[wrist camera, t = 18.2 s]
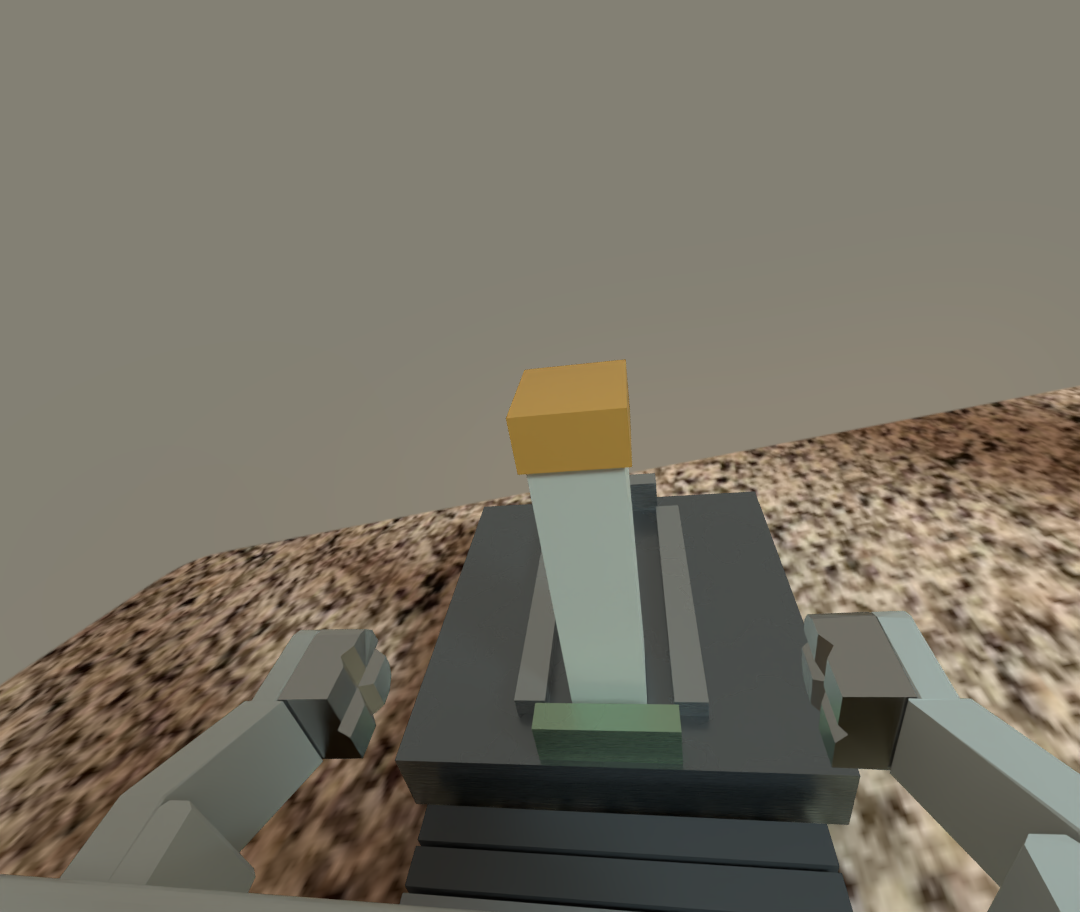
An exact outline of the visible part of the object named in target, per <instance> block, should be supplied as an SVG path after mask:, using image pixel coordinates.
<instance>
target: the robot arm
mask: <svg viewBox="0 0 1080 912" xmlns="http://www.w3.org/2000/svg"><path fill="white" fill-rule="evenodd" d="M804 632H805V635H806V638H807V641H808V643H806V644H805V645H804V646H803V647H802V660H801V661H802V671H803V678H804V682H805V687H806V690H807V694H808V697H809V700H810V703H811V704H812V705H813V706H814V707H815V708H816V709H818V710H819V711H820V720H819V731H820V734H821V737H822V740H823V743H824V746H825V749H826V752H827V755H828V758H829V761H830V764H831V767H833V768H855V769H877V770H890V774H891V775H892V776H893V777H894V778H895V779H896V780H897V781H898V782H899V783H900V784H901V785H902V786H903V787H904V788H905V789H906V790H907V791H908V792H909V793H910V794H911V795H912V796H913V797H914V798H915V799H916V800H917V802H918V803H919V804H920V805H921V806H922V807H923V808H924V809H925V810H926V811H927V812H928V813H929V814H930V815H931V816H932V817H933V818H934V819H935V820H936V821H937V822H938V823H939V824H940V825H941V826H942V827H943V828H944V829H945V830H946V831H947V832H948V834H949V835H950V836H951V837H952V838H953V839H954V840H955V841H956V842H957V843H958V844H959V845H960V846H961V847H962V848H963V849H964V850H965V851H966V852H967V853H968V854H969V855H970V856H971V857H972V858H973V859H974V860H975V861H976V862H977V863H978V864H979V866H980V867H981V868H982V869H983V870H984V871H985V872H986V873H987V874H988V875H989V876H990V877H991V878H992V879H993V880H994V881H995V882H996V883H997V884H998V885H999V886H1000V889H999V891H998V893H997V895H996V896H995V898H994V900H993V902H992V904H991V906H990V908H989V910H988V912H1080V774H1079V773H1077V772H1076V771H1074V770H1073V769H1072V768H1070V767H1069V766H1067V765H1066V764H1064V763H1063V762H1061V761H1060V760H1059V759H1057V758H1056V757H1054V756H1053V755H1051V754H1050V753H1048V752H1047V751H1046V750H1044V749H1043V748H1041V747H1040V746H1038V745H1037V744H1036V743H1034V742H1033V741H1031V740H1030V739H1028V738H1027V737H1025V736H1024V735H1023V734H1021V733H1020V732H1018V731H1017V730H1015V729H1014V728H1012V727H1011V726H1010V725H1008V724H1007V723H1005V722H1004V721H1002V720H1001V719H1000V718H998V717H997V716H995V715H994V714H992V713H991V712H989V711H988V710H987V709H985V708H984V707H982V706H981V705H979V704H978V703H977V702H975V701H974V700H972V699H966V698H959V696H958V694H957V693H956V691H955V689H954V688H953V686H952V684H951V683H950V681H949V679H948V678H947V676H946V674H945V672H944V671H943V669H942V667H941V666H940V664H939V662H938V661H937V659H936V657H935V656H934V654H933V652H932V651H931V649H930V647H929V646H928V644H927V642H926V640H925V639H924V637H923V635H922V634H921V632H920V630H919V629H918V627H917V625H916V624H915V622H914V620H913V619H912V617H911V616H910V615H909V614H908V613H907V612H905V611H888V612H871V613H869V612H853V613H830V614H807V616H806V618H805V622H804ZM377 643H378V640H377V638H376V636H375V634H374V632H373V631H372V630H366V629H335V630H300V631H299V632H297V633H296V634H295V635H293V636H292V638H291V639H290V641H289V643H288V644H287V646H286V647H285V649H284V650H283V652H282V654H281V655H280V657H279V658H278V660H277V662H276V663H275V665H274V666H273V668H272V669H271V671H270V673H269V674H268V676H267V677H266V679H265V681H264V682H263V684H262V685H261V687H260V688H259V690H258V692H257V693H256V695H255V696H254V698H253V699H252V701H244V702H243V703H242V704H240V705H239V706H238V707H236V708H235V709H234V710H232V711H231V712H230V713H228V714H227V715H226V716H225V717H223V718H222V719H221V720H219V721H218V722H217V723H215V724H214V725H213V726H211V727H210V728H209V729H207V730H206V731H205V732H203V733H202V734H201V735H199V736H198V737H197V738H196V739H194V740H193V741H192V742H190V743H189V744H188V745H186V746H185V747H184V748H182V749H181V750H180V751H178V752H177V753H176V754H174V755H173V756H172V757H170V758H169V759H168V760H167V761H165V762H164V763H163V764H161V765H160V766H159V767H157V768H156V769H155V770H153V771H152V772H151V773H149V774H148V775H147V776H145V777H144V778H143V779H142V780H140V781H139V782H138V783H136V784H135V785H134V786H132V787H131V788H130V789H128V790H127V791H126V792H124V793H123V794H122V795H120V797H119V798H118V799H117V801H116V802H115V803H114V805H113V806H112V808H111V809H110V810H109V812H108V813H107V814H106V816H105V817H104V818H103V820H102V821H101V823H100V824H99V825H98V827H97V828H96V829H95V831H94V832H93V833H92V835H91V836H90V837H89V839H88V840H87V842H86V843H85V844H84V846H83V847H82V848H81V850H80V851H79V852H78V854H77V855H76V856H75V858H74V859H73V861H72V862H71V863H70V865H69V866H68V867H67V869H66V870H65V871H64V873H63V874H62V875H61V877H60V878H46V877H33V876H20V875H6V874H0V912H493V911H480V910H467V909H453V908H440V907H427V906H414V905H401V904H388V903H375V902H362V901H348V900H335V899H322V898H309V897H296V896H283V895H270V894H256V893H248V892H249V889H250V887H251V885H252V883H253V881H254V879H255V872H254V868H253V867H252V866H251V865H250V864H249V863H248V862H247V861H246V860H245V859H244V858H243V856H242V855H241V854H240V853H239V852H240V851H241V850H242V849H243V848H244V847H245V846H246V845H247V844H248V842H249V841H250V840H251V839H252V838H253V837H254V836H255V835H256V834H257V833H258V832H259V830H260V829H261V828H262V827H263V826H264V825H265V824H266V823H267V822H268V821H269V820H270V818H271V817H272V816H273V815H274V814H275V813H276V812H277V811H278V810H279V809H280V808H281V806H282V805H283V804H284V803H285V802H286V801H287V800H288V799H289V798H290V797H291V796H292V795H293V793H294V792H295V791H296V790H297V789H298V788H299V787H300V786H301V785H302V784H303V783H304V781H305V780H306V779H307V778H308V777H309V776H310V775H311V774H312V773H313V772H314V771H315V769H316V768H317V767H318V766H319V765H320V764H321V763H322V762H323V760H322V759H351V758H363V756H364V754H365V751H366V749H367V746H368V744H369V742H370V739H371V737H372V734H373V732H374V729H375V727H376V724H375V720H374V717H373V714H374V713H375V712H377V711H378V710H379V709H380V708H381V707H382V706H383V705H384V704H385V701H386V699H387V696H388V693H389V691H390V682H391V671H390V665H389V662H388V660H387V658H386V656H385V655H383V654H382V653H380V652H379V651H378V650H376V649H375V648H376V645H377Z"/></svg>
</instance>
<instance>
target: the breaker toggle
mask: <svg viewBox="0 0 1080 912" xmlns="http://www.w3.org/2000/svg"><path fill="white" fill-rule="evenodd" d="M506 421H507V426H508V431H509V435H510V440H511V445H512V449H513V454H514V459H515V464H516V469H517V473H518V475H520V474H526V475H527V479H528V485H529V490H530V495H531V500H532V505H533V510H534V515H535V520H536V525H537V530H538V535H539V540H540V545H541V550H542V555H543V560H544V565H545V570H546V575H547V580H548V585H549V590H550V595H551V600H552V605H553V610H554V615H555V620H556V625H557V630H558V635H559V640H560V645H561V650H562V655H563V660H564V665H565V670H566V675H567V680H568V684H569V689H570V694H571V699H572V703H588V704H647V691H646V670H645V650H644V635H643V624H642V613H641V602H640V591H639V579H638V568H637V557H636V546H635V535H634V524H633V512H632V501H631V490H630V479H629V468H628V467H632V452H631V426H630V406H629V394H628V383H627V371H626V360H625V359H624V360H615V361H605V362H596V363H586V364H576V365H566V366H557V367H547V368H538V369H529V370H524V373H523V375H522V378H521V381H520V383H519V386H518V388H517V391H516V393H515V396H514V398H513V401H512V404H511V406H510V409H509V412H508V414H507V417H506Z"/></svg>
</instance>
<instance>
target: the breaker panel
mask: <svg viewBox="0 0 1080 912" xmlns="http://www.w3.org/2000/svg"><path fill="white" fill-rule="evenodd" d="M629 479H630V490H631V501H632V512H633V524H634V535H635V546H636V557H637V568H638V579H639V591H640V602H641V613H642V624H643V635H644V650H645V670H646V691H647V704H588V703H572V699H571V694H570V689H569V684H568V680H567V675H566V670H565V665H564V660H563V655H562V650H561V645H560V640H559V635H558V630H557V625H556V620H555V615H554V610H553V605H552V600H551V595H550V590H549V585H548V580H547V575H546V570H545V565H544V560H543V555H542V550H541V545H540V540H539V535H538V530H537V525H536V520H535V515H534V510H533V505H532V504H527V505H509V506H492V507H484V509H483V512H482V515H481V518H480V520H479V523H478V526H477V529H476V532H475V535H474V537H473V540H472V543H471V546H470V549H469V552H468V555H467V557H466V560H465V563H464V566H463V569H462V572H461V574H460V577H459V580H458V583H457V586H456V589H455V591H454V594H453V597H452V600H451V603H450V606H449V608H448V611H447V614H446V617H445V620H444V623H443V625H442V628H441V631H440V634H439V637H438V640H437V642H436V645H435V648H434V651H433V654H432V657H431V659H430V662H429V665H428V668H427V671H426V674H425V676H424V679H423V682H422V685H421V688H420V691H419V693H418V696H417V699H416V702H415V705H414V708H413V710H412V713H411V716H410V719H409V722H408V725H407V727H406V730H405V733H404V736H403V739H402V742H401V744H400V747H399V750H398V753H397V756H396V759H395V761H396V764H397V766H398V768H399V770H400V772H401V774H402V776H403V778H404V780H405V782H406V784H407V786H408V788H409V790H410V792H411V794H412V796H413V798H414V800H415V802H416V804H433V805H454V806H474V807H495V808H515V809H536V810H556V811H577V812H597V813H618V814H638V815H659V816H679V817H700V818H721V819H741V820H762V821H782V822H803V823H823V824H844V825H849V822H850V817H851V813H852V809H853V805H854V800H855V796H856V792H857V788H858V784H859V779H860V774H859V771H858V769H855V768H833V767H831V764H830V761H829V758H828V755H827V752H826V749H825V746H824V743H823V740H822V737H821V734H820V731H819V720H820V711H819V710H818V709H816V708H815V707H814V706H813V705H812V704H811V703H810V700H809V697H808V694H807V690H806V687H805V682H804V678H803V671H802V661H801V660H802V647H803V646H804V645H805V644H806V643H808V641H807V638H806V635H805V632H804V623H803V620H802V617H801V615H800V612H799V609H798V607H797V604H796V601H795V599H794V596H793V593H792V590H791V588H790V585H789V582H788V580H787V577H786V574H785V572H784V569H783V566H782V564H781V561H780V558H779V555H778V553H777V550H776V547H775V545H774V542H773V539H772V537H771V534H770V531H769V529H768V526H767V523H766V520H765V518H764V515H763V512H762V510H761V507H760V504H759V502H758V499H757V496H756V493H755V492H739V493H721V494H704V495H686V496H668V497H657V494H656V480H655V473H652V474H636V475H629Z"/></svg>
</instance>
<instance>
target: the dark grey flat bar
mask: <svg viewBox="0 0 1080 912" xmlns="http://www.w3.org/2000/svg"><path fill="white" fill-rule="evenodd" d="M418 841H419V843H420V845H421V846H416V848H415V851H414V855H413V859H412V862H411V866H410V869H409V873H408V876H407V880H406V883H405V887H406V889H407V890H408V892H409V893H403V894H402V898H401V901H400V904H401V905H414V906H427V907H440V908H453V909H467V910H480V911H493V912H853V910H852V906H851V903H850V900H849V896H848V893H847V890H846V886H845V883H844V880H843V876H842V873H838V869H839V863H838V859H837V856H836V853H835V849H834V846H833V843H832V839H831V836H830V833H829V829H828V826H827V824H818V823H798V822H777V821H757V820H736V819H716V818H695V817H675V816H654V815H634V814H613V813H593V812H572V811H552V810H531V809H511V808H490V807H470V806H449V805H429V804H428V805H427V809H426V812H425V816H424V819H423V823H422V827H421V830H420V834H419V837H418Z"/></svg>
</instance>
